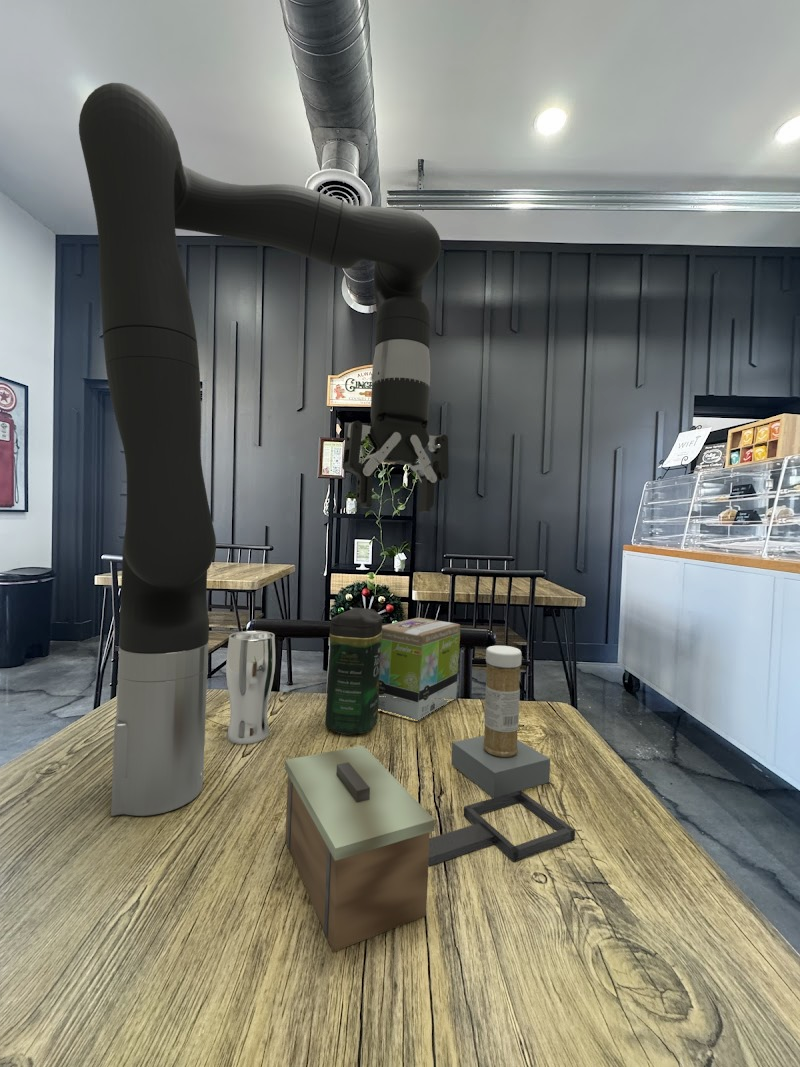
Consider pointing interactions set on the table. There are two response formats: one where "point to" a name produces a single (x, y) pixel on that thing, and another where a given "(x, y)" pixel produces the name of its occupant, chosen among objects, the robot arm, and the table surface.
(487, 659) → the sprinkles bottle
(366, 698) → the coffee jar
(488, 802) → the square frame with handle
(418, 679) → the tea box
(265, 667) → the beer glass
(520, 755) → the gray rectangular block
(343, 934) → the toolbox
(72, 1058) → the table surface
